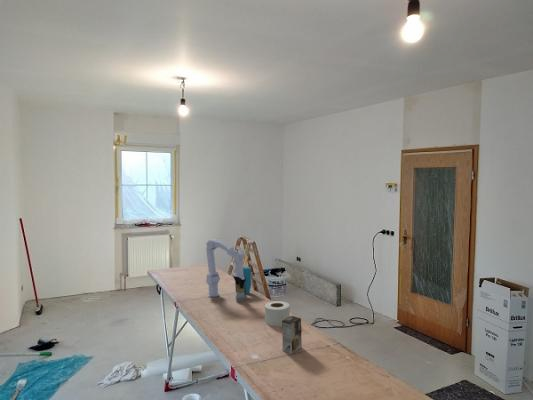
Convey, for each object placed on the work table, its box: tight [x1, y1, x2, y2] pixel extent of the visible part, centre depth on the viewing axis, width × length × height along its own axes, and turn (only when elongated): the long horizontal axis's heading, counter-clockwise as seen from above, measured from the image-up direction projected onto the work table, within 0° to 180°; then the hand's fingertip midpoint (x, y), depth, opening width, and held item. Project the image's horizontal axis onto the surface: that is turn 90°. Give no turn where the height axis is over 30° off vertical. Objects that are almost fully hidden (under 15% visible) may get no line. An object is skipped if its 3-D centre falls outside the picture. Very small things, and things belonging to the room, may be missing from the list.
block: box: [234, 266, 252, 295], centre depth 304 cm, size 12×5×20 cm, turn 114°
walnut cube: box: [235, 284, 244, 293], centre depth 286 cm, size 5×5×5 cm
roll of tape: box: [264, 300, 291, 327], centre depth 243 cm, size 16×15×11 cm
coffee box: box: [281, 315, 303, 354], centre depth 203 cm, size 9×6×16 cm
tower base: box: [235, 296, 246, 303], centre depth 286 cm, size 6×6×4 cm
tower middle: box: [235, 291, 246, 298], centre depth 286 cm, size 6×6×4 cm
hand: (239, 286), depth 286 cm, fingers open, 7 cm apart
